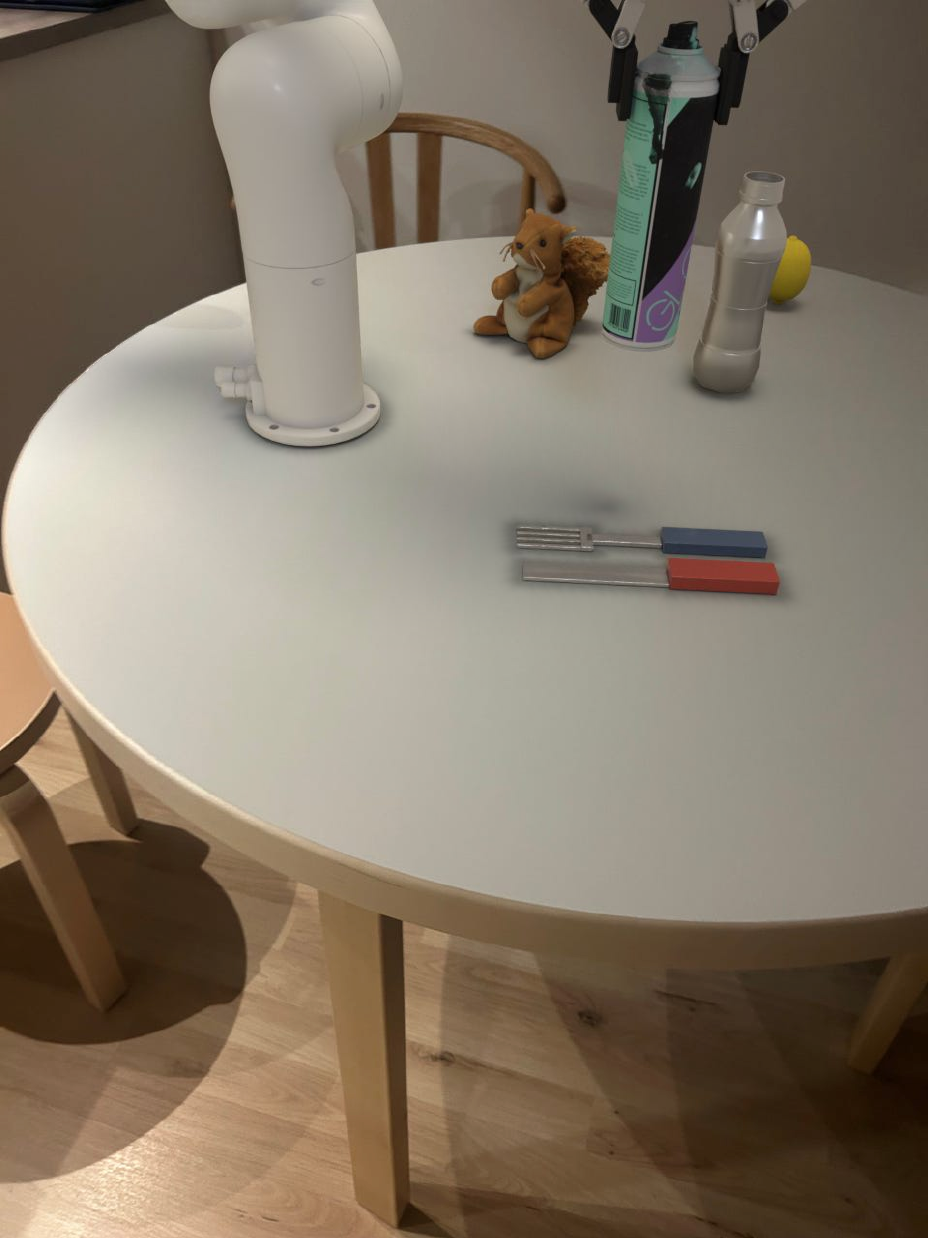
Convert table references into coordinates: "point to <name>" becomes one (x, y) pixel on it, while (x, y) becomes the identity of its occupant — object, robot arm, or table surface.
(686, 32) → the spray can
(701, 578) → the knife
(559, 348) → the stuffed squirrel
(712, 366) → the plastic bottle
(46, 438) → the table surface
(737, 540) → the fork
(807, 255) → the lemon
